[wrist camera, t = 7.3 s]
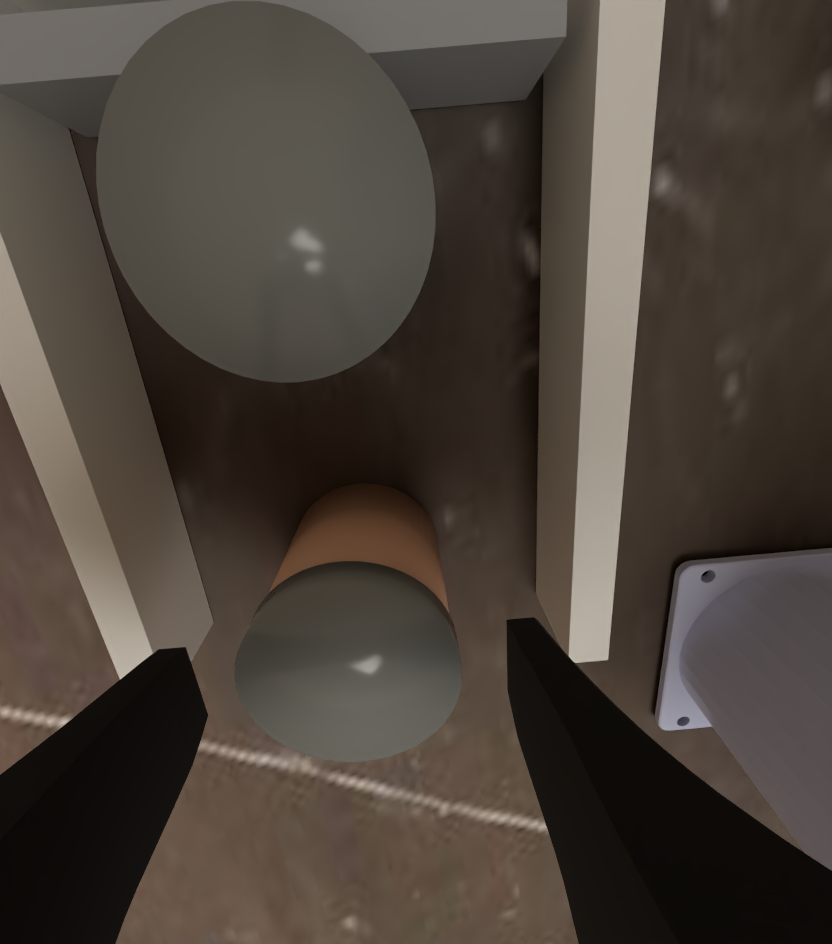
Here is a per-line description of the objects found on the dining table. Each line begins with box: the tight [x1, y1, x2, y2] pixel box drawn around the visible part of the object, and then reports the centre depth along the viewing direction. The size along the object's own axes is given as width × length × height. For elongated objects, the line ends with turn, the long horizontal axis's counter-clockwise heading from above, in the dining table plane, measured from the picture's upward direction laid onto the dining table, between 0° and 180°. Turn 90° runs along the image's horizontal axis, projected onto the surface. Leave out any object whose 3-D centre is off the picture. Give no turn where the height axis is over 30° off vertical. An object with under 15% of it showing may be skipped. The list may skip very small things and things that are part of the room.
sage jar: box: [96, 1, 436, 383], centre depth 10 cm, size 5×5×6 cm
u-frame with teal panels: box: [0, 0, 666, 679], centre depth 12 cm, size 14×19×4 cm
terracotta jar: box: [235, 483, 462, 762], centre depth 13 cm, size 5×5×6 cm
